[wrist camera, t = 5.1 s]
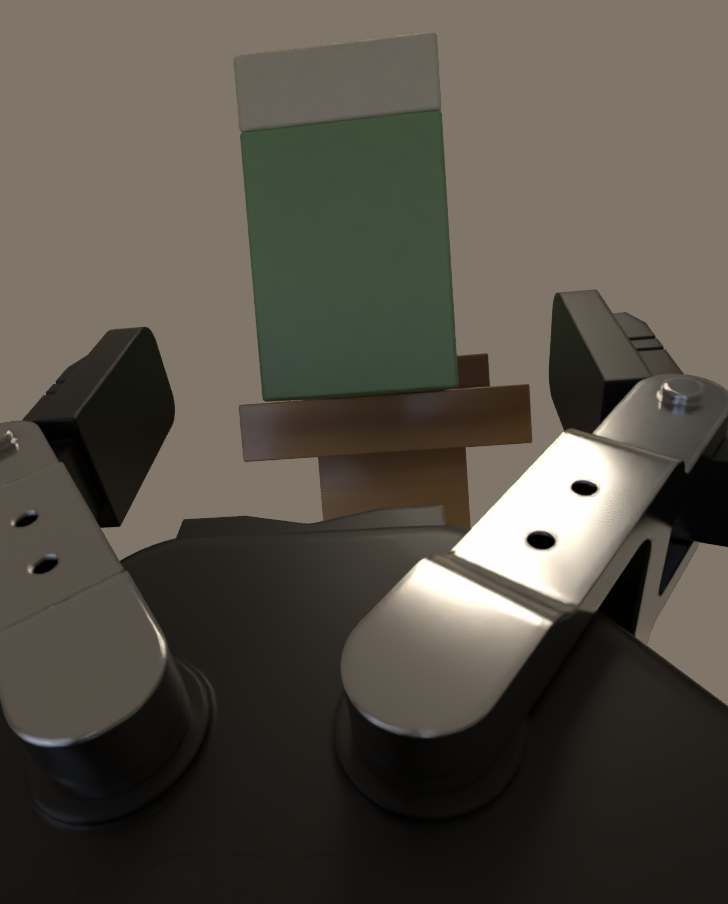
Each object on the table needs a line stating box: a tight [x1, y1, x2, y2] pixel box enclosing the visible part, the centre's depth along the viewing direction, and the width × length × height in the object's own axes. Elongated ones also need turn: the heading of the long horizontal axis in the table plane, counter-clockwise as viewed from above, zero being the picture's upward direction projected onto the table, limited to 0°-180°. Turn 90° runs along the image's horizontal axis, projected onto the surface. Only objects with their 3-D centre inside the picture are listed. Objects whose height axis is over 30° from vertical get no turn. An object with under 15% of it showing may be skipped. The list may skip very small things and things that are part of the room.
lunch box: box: [234, 32, 458, 402], centre depth 24 cm, size 20×4×8 cm, turn 175°
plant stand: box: [239, 353, 532, 528], centre depth 31 cm, size 14×10×34 cm
